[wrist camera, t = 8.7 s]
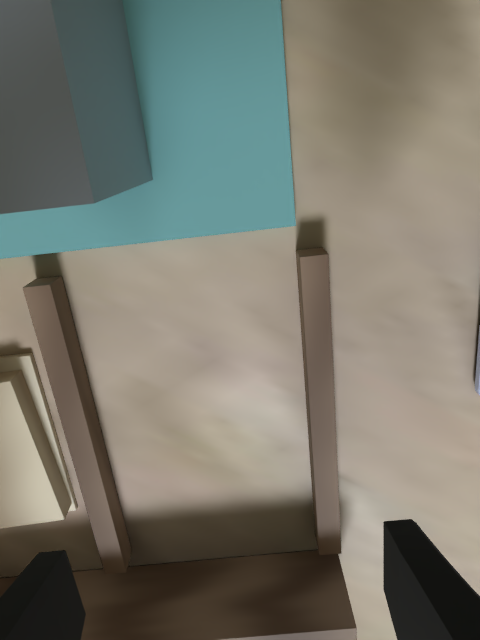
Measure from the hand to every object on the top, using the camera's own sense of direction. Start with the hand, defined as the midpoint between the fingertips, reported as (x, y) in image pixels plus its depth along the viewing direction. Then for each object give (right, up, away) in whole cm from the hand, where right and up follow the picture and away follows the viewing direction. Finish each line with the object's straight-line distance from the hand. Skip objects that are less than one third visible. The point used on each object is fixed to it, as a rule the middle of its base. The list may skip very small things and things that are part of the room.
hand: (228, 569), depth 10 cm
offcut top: (-10, 0, +10) cm, 14 cm away
